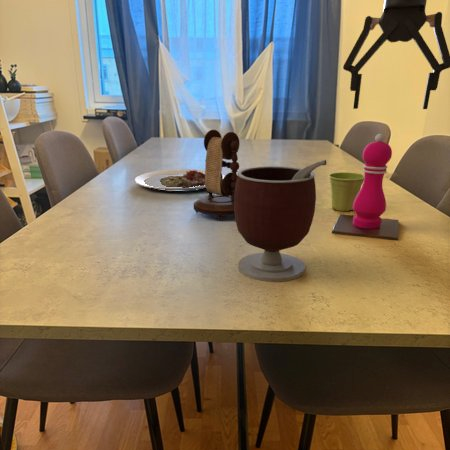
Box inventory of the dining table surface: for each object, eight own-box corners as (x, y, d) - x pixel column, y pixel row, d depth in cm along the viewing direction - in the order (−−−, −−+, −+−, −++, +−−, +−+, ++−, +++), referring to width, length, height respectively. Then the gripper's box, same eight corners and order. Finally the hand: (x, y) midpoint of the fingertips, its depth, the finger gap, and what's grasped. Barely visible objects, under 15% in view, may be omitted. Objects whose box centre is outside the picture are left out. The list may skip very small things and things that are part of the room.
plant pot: (323, 211, 113) (326, 177, 109) (327, 202, 121) (330, 171, 117) (360, 214, 110) (365, 180, 106) (362, 205, 118) (366, 173, 114)
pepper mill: (355, 218, 105) (367, 131, 96) (385, 223, 102) (401, 133, 93) (346, 226, 100) (358, 134, 90) (378, 231, 96) (394, 136, 87)
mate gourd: (219, 271, 78) (217, 157, 69) (257, 249, 88) (260, 146, 79) (297, 292, 70) (307, 166, 61) (329, 265, 81) (342, 153, 71)
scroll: (182, 212, 113) (178, 130, 104) (225, 202, 121) (225, 126, 112) (218, 225, 103) (217, 136, 94) (262, 213, 111) (265, 131, 102)
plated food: (118, 190, 134) (116, 179, 133) (159, 172, 160) (158, 163, 158) (209, 197, 126) (208, 186, 125) (237, 177, 152) (237, 167, 150)
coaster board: (398, 222, 105) (398, 219, 104) (397, 240, 93) (397, 237, 93) (339, 216, 109) (339, 214, 109) (331, 233, 97) (331, 230, 97)
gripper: (336, -15, 81) (326, 109, 90) (486, -27, 73) (457, 110, 83) (341, -8, 87) (331, 107, 97) (479, -19, 79) (453, 107, 89)
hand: (389, 108), depth 90 cm, fingers open, 13 cm apart
